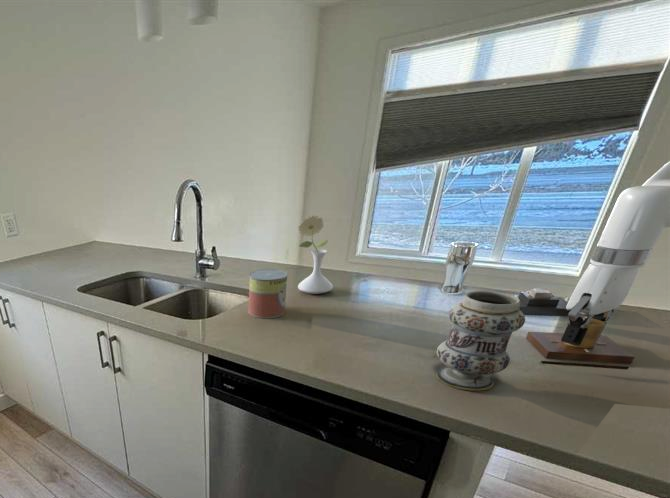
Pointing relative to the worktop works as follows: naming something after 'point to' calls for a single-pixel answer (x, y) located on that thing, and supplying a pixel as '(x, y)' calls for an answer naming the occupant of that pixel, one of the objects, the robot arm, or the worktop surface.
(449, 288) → the beer glass
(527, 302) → the piano block
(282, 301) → the canned food
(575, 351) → the volume panel
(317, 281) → the flower in vase
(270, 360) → the worktop surface
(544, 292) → the key
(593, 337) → the dial
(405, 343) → the worktop surface
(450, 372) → the apothecary jar
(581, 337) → the robot arm
